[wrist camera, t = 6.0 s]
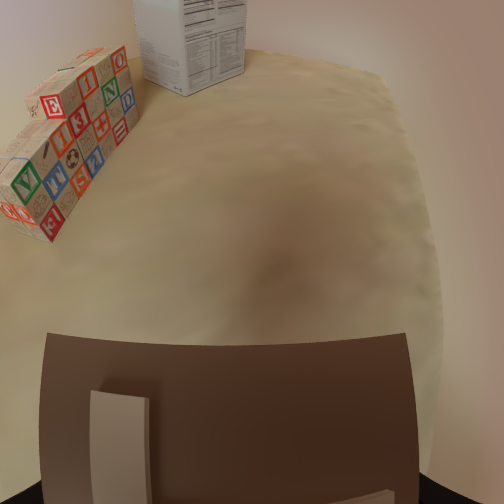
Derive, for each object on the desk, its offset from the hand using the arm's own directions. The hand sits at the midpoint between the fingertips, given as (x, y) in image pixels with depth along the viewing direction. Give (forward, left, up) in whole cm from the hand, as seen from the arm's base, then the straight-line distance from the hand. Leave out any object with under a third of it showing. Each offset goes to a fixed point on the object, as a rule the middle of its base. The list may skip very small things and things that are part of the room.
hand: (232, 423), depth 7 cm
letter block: (-1, 0, -7) cm, 7 cm away
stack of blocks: (+24, +22, -14) cm, 35 cm away
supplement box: (+49, +13, -14) cm, 52 cm away
